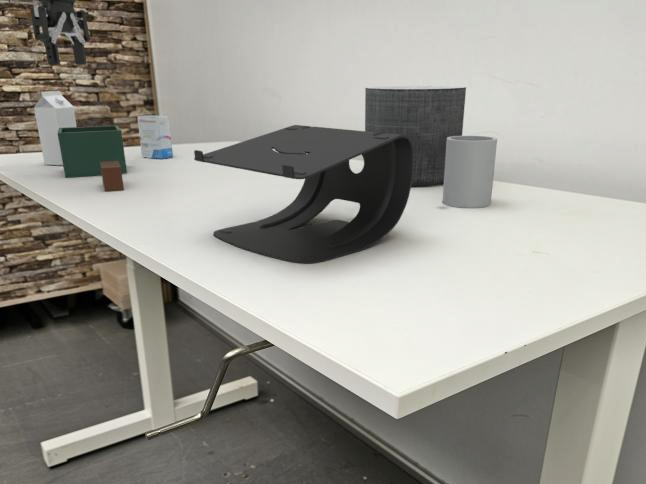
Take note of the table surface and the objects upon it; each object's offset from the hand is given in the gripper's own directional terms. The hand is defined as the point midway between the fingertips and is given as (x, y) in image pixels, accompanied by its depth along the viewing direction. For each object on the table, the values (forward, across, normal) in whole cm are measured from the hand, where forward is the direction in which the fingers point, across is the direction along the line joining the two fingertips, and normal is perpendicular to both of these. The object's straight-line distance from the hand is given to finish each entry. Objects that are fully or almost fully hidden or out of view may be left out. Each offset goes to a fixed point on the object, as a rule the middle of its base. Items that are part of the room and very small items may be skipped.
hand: (68, 64), depth 125 cm
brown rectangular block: (+25, -3, +4) cm, 26 cm away
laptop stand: (+26, +28, +59) cm, 70 cm away
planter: (+26, -27, +68) cm, 78 cm away
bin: (+25, -22, -13) cm, 36 cm away
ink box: (+26, -48, -10) cm, 56 cm away
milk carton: (+25, -31, -30) cm, 50 cm away
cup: (+26, -3, +82) cm, 86 cm away
